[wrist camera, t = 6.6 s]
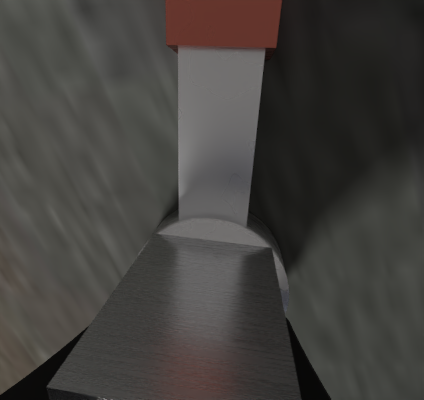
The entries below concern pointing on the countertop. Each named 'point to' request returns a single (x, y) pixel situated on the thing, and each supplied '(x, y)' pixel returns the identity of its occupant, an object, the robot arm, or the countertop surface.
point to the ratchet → (220, 118)
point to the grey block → (186, 329)
